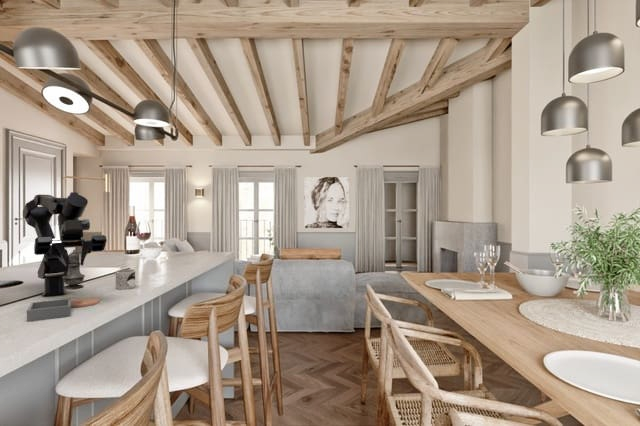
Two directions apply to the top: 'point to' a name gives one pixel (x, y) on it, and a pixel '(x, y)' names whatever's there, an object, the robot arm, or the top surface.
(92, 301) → the coaster
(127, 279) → the grey speckled block
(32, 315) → the tub
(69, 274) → the grey tall domed piece
